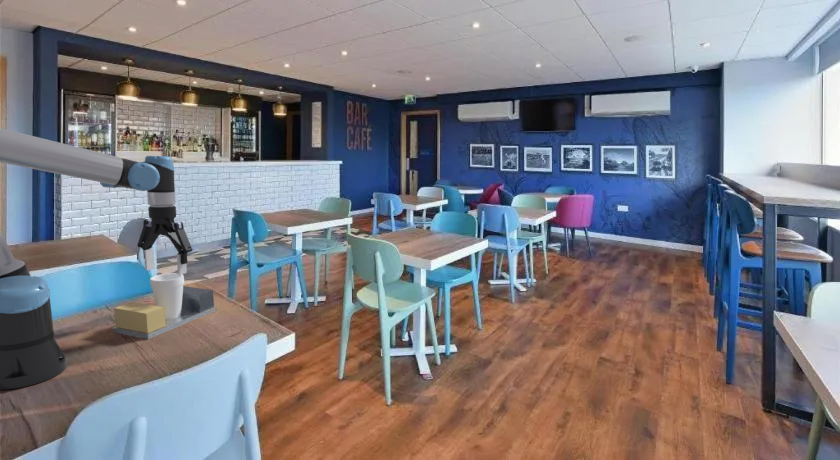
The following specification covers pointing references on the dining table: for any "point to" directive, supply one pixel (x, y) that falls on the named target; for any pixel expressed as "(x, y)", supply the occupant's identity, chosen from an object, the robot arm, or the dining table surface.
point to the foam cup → (168, 293)
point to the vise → (192, 309)
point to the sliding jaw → (139, 317)
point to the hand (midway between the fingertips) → (165, 271)
